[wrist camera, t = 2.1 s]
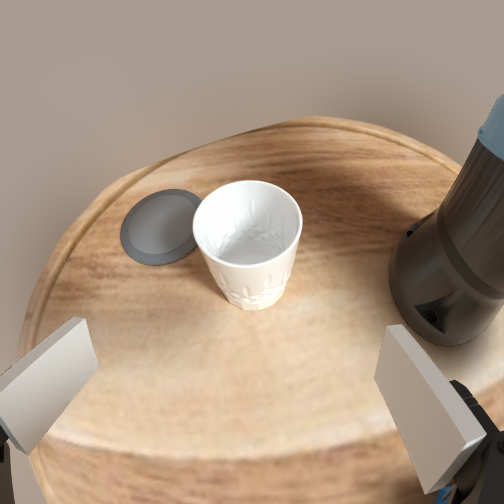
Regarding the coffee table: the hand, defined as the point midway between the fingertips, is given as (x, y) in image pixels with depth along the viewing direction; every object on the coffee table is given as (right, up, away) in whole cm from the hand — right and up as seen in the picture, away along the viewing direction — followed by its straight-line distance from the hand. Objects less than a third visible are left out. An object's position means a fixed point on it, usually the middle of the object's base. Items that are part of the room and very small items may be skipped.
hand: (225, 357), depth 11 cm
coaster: (-10, +7, +22) cm, 25 cm away
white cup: (+1, +1, +18) cm, 18 cm away
